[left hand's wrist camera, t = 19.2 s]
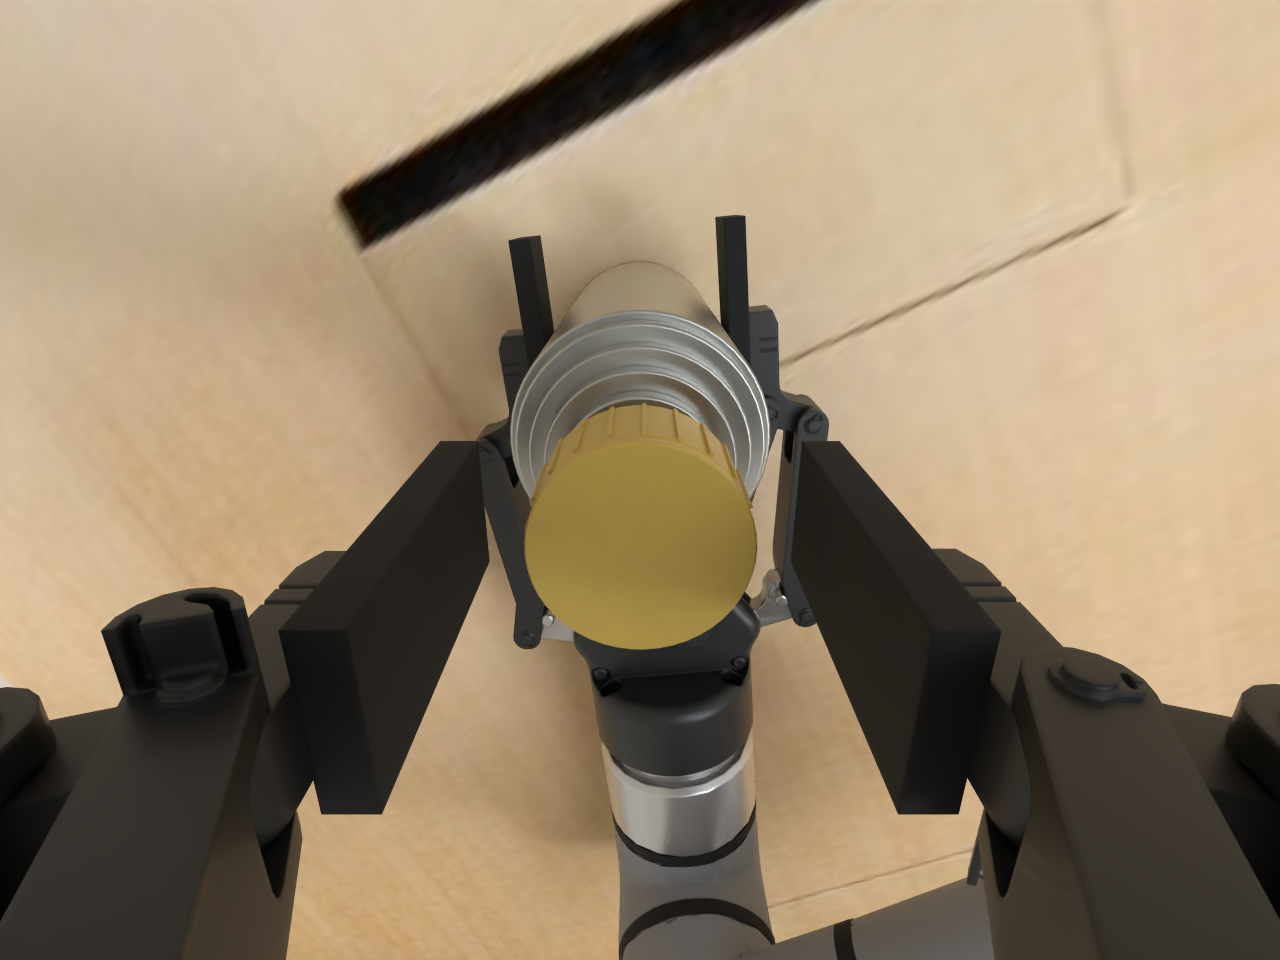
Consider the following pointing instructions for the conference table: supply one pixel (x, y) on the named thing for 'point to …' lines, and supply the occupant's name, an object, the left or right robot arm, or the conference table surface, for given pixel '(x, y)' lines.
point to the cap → (640, 529)
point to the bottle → (640, 370)
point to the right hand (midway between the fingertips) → (626, 228)
